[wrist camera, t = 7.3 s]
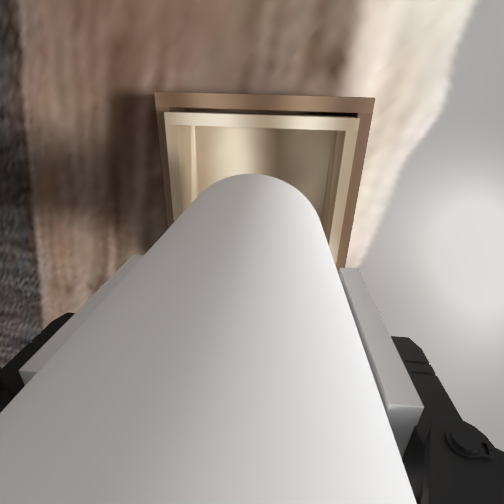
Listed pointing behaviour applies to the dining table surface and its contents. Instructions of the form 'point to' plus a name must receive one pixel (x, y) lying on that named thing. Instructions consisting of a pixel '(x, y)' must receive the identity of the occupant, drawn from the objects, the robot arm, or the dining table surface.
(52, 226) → the dining table surface
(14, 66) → the dining table surface
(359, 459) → the cup
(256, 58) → the dining table surface
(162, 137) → the box
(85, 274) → the dining table surface
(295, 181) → the birch crate
